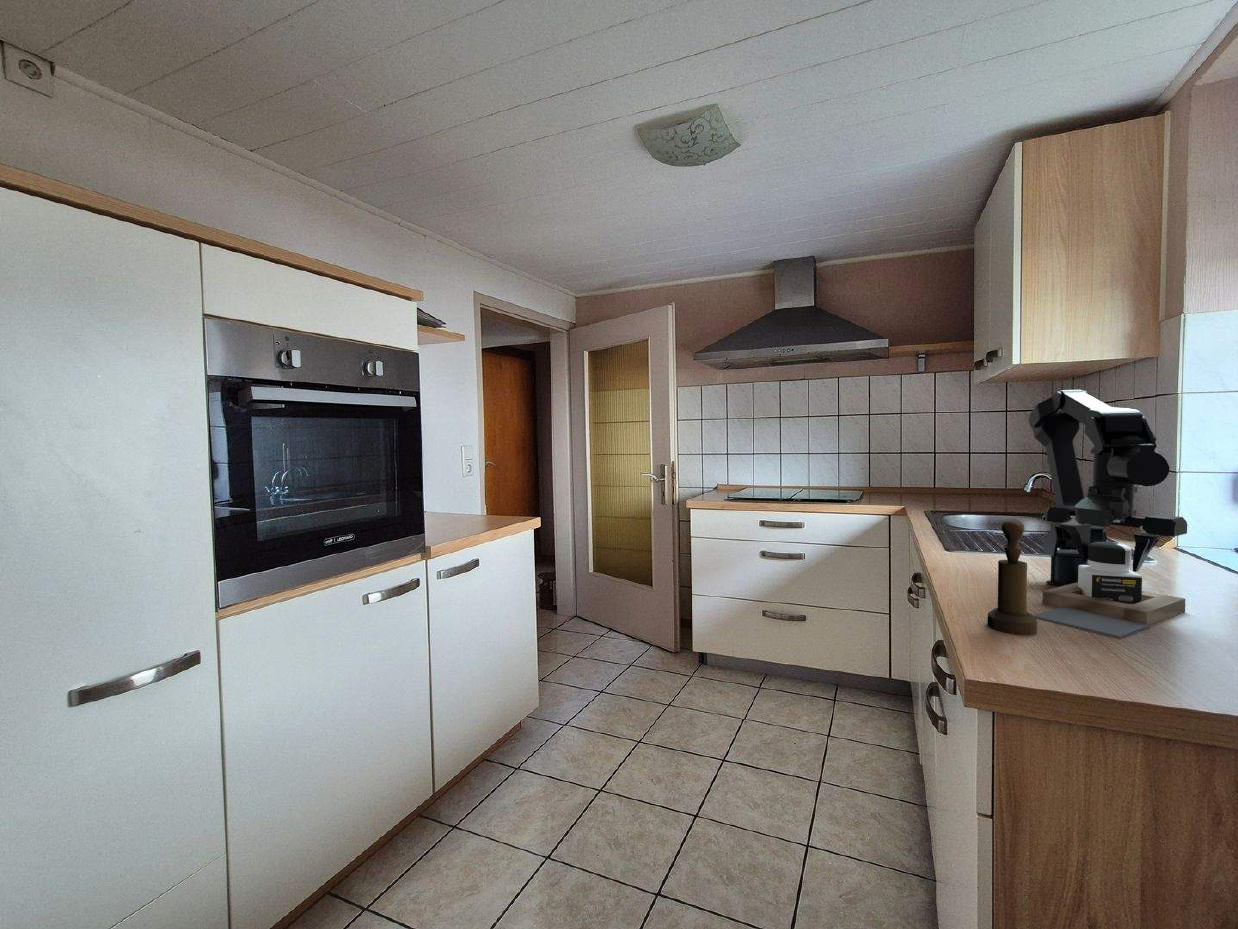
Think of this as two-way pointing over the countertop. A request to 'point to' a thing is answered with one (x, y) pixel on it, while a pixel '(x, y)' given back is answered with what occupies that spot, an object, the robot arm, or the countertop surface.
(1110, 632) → the mat
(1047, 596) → the brown flat square frame
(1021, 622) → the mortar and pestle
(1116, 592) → the medicine bottle
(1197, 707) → the countertop surface
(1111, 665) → the countertop surface
